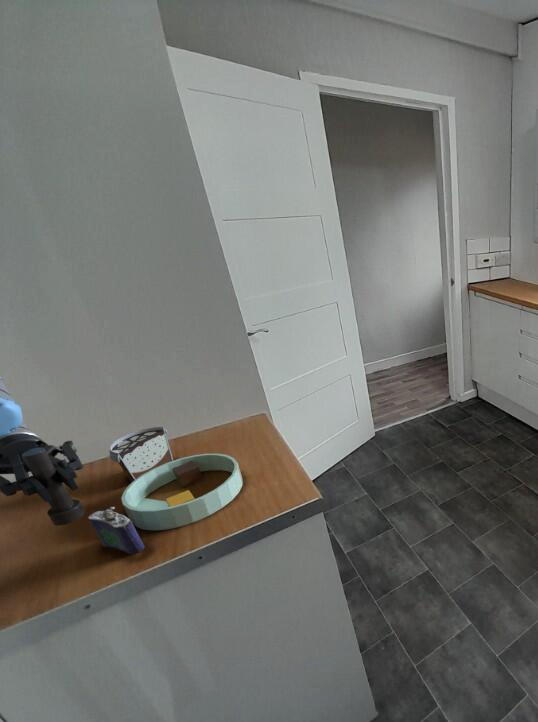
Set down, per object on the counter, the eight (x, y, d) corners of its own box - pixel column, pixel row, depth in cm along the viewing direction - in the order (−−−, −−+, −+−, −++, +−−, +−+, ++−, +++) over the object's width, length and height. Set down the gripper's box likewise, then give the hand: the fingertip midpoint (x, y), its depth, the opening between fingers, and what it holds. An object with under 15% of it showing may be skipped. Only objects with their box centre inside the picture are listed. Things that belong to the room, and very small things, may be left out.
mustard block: (171, 514, 86) (165, 499, 85) (193, 504, 89) (188, 489, 88) (176, 522, 84) (170, 507, 82) (199, 512, 87) (194, 497, 85)
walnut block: (177, 482, 96) (171, 468, 94) (196, 474, 99) (192, 460, 97) (183, 489, 94) (178, 474, 92) (203, 480, 97) (198, 466, 95)
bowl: (112, 511, 88) (102, 490, 86) (213, 463, 105) (206, 445, 102) (161, 546, 79) (151, 524, 77) (262, 488, 96) (257, 468, 94)
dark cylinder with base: (48, 520, 77) (9, 454, 71) (79, 506, 81) (44, 442, 74) (59, 528, 75) (20, 461, 69) (90, 513, 79) (55, 448, 73)
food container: (158, 456, 106) (143, 423, 102) (179, 459, 106) (165, 425, 101) (109, 487, 95) (91, 452, 91) (132, 490, 94) (115, 454, 90)
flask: (103, 553, 78) (79, 509, 73) (121, 541, 80) (98, 499, 76) (138, 565, 75) (115, 521, 71) (155, 553, 78) (134, 510, 73)
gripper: (77, 447, 90) (123, 482, 80) (-34, 487, 78) (3, 534, 67) (62, 418, 87) (108, 449, 77) (-56, 454, 75) (-21, 498, 64)
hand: (59, 489), depth 72 cm, fingers closed on dark cylinder with base, 3 cm apart
